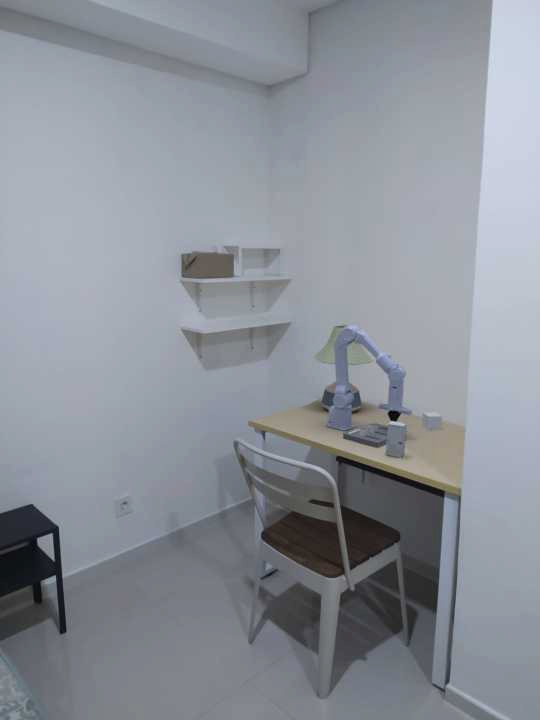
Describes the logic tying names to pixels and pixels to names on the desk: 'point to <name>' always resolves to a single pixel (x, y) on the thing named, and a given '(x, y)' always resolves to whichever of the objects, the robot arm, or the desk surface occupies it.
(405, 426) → the skincare box
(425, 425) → the grey cube
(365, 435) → the panel
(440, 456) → the desk surface
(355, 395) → the desk lamp
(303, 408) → the desk surface
